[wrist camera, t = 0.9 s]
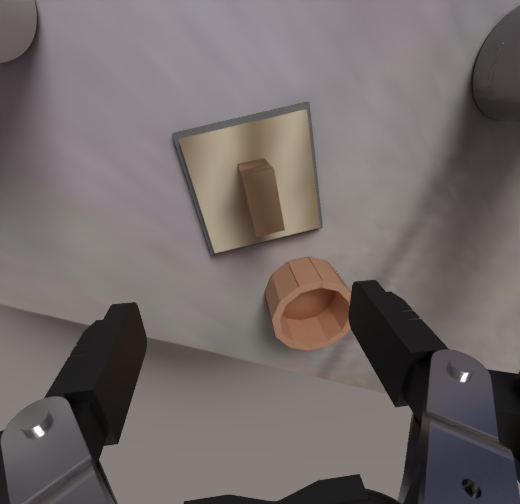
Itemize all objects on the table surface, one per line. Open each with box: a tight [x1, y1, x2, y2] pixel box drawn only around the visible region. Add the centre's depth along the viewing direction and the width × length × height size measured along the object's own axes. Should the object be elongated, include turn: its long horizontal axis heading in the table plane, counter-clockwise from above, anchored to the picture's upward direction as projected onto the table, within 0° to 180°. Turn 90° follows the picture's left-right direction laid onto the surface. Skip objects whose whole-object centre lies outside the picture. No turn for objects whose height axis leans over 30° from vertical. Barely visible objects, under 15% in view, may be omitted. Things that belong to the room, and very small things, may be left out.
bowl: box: [265, 257, 351, 351], centre depth 33 cm, size 9×9×5 cm
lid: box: [179, 110, 320, 253], centre depth 25 cm, size 11×11×6 cm
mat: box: [172, 102, 323, 255], centre depth 28 cm, size 12×12×1 cm
